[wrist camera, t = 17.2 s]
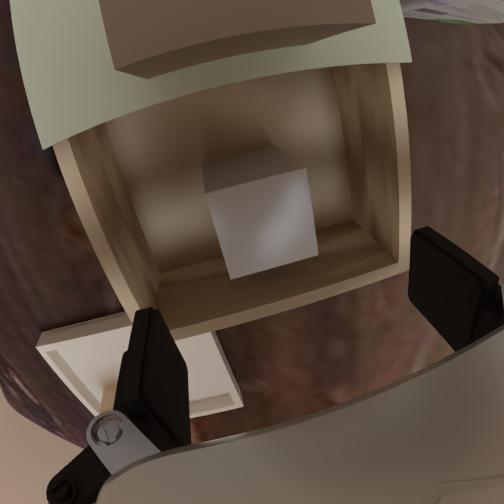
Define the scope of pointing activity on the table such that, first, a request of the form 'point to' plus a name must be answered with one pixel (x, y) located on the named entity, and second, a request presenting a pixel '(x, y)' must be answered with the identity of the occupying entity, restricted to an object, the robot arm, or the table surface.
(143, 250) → the birch box
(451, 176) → the table surface
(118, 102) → the sage lid
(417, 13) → the ink box
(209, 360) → the white tray
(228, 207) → the granite block
